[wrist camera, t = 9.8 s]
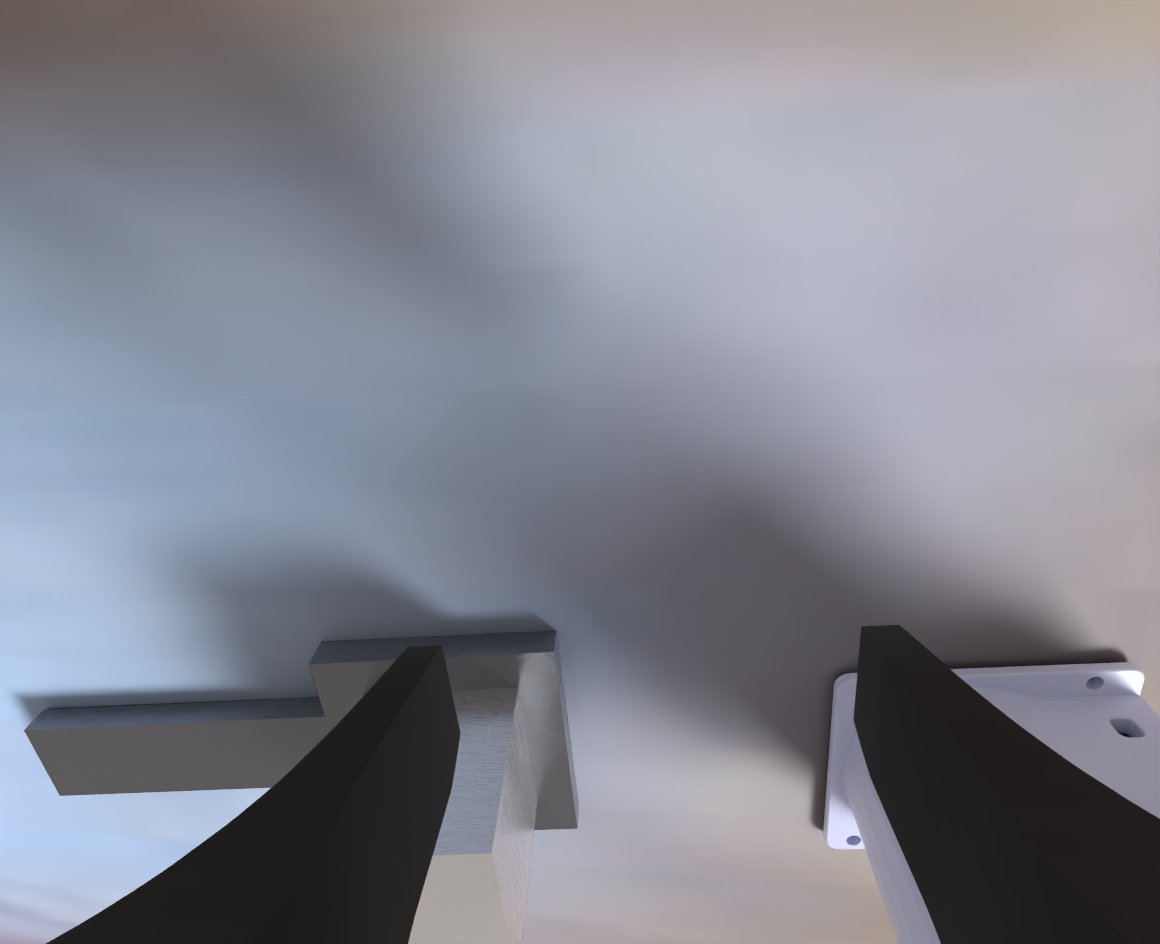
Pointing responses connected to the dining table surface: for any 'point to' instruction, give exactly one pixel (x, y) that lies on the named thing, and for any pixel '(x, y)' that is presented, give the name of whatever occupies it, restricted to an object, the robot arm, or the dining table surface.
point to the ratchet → (304, 724)
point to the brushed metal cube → (483, 829)
